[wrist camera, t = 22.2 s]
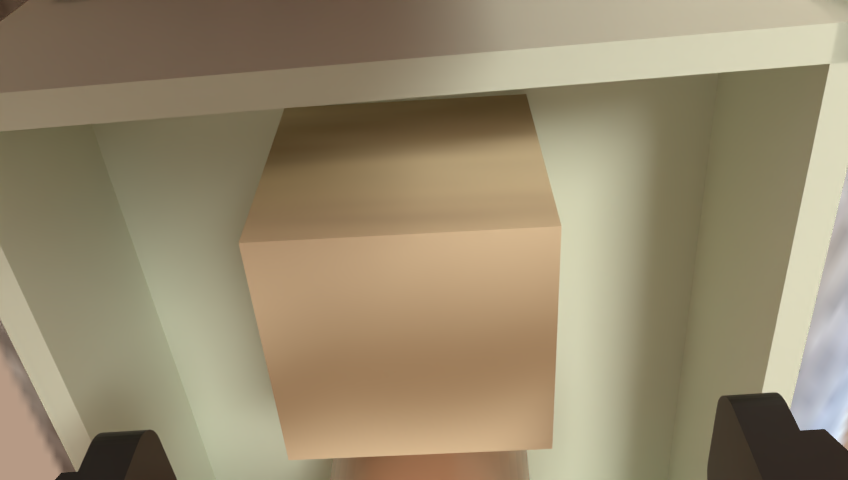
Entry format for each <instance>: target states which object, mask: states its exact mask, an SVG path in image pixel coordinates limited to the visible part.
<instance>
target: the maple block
mask: <svg viewBox="0 0 848 480" xmlns="http://www.w3.org/2000/svg"><path fill="white" fill-rule="evenodd" d="M561 228H562V226H561V222H560V218H559V215H558V211H557V207H556V204H555V200H554V196H553V192H552V189H551V185H550V181H549V177H548V174H547V170H546V166H545V162H544V159H543V155H542V151H541V147H540V144H539V140H538V136H537V133H536V129H535V125H534V121H533V118H532V114H531V110H530V106H529V103H528V99H527V95H526V94H517V95H500V96H483V97H465V98H448V99H431V100H413V101H396V102H379V103H361V104H344V105H327V106H309V107H294V108H284V111H283V114H282V117H281V120H280V123H279V126H278V129H277V132H276V135H275V137H274V140H273V143H272V146H271V149H270V152H269V155H268V158H267V161H266V164H265V167H264V170H263V173H262V176H261V179H260V181H259V184H258V187H257V190H256V193H255V196H254V199H253V202H252V205H251V208H250V211H249V214H248V217H247V220H246V222H245V225H244V228H243V231H242V234H241V237H240V240H239V248H240V252H241V256H242V261H243V265H244V269H245V274H246V278H247V282H248V287H249V291H250V295H251V300H252V304H253V308H254V313H255V317H256V321H257V326H258V330H259V334H260V339H261V343H262V347H263V352H264V356H265V360H266V365H267V369H268V373H269V378H270V382H271V386H272V390H273V395H274V399H275V403H276V408H277V412H278V416H279V421H280V425H281V429H282V434H283V438H284V442H285V447H286V451H287V455H288V460H306V459H329V458H352V457H376V456H399V455H422V454H445V453H468V452H491V451H514V450H537V449H552V444H553V420H554V396H555V372H556V348H557V324H558V300H559V276H560V252H561Z"/></svg>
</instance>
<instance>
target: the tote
mask: <svg viewBox="0 0 848 480" xmlns="http://www.w3.org/2000/svg"><path fill="white" fill-rule="evenodd" d="M517 94H526V95H527V99H528V103H529V106H530V110H531V114H532V118H533V121H534V125H535V129H536V133H537V136H538V140H539V144H540V147H541V151H542V155H543V159H544V162H545V166H546V170H547V174H548V177H549V181H550V185H551V189H552V192H553V196H554V200H555V204H556V207H557V211H558V215H559V218H560V222H561V226H562V228H561V252H560V276H559V300H558V324H557V348H556V372H555V396H554V420H553V444H552V449H537V450H527V456H528V466H529V476H530V480H707V465H708V458H709V452H710V446H711V440H712V434H713V428H714V421H715V415H716V409H717V404H718V400H719V398H720V397H721V396H723V395H739V394H755V393H771V392H777V393H779V394H780V395H781V396H782V397H783V398H784V400H785V401H786V403H787V405H788V407H789V409H790V407H791V403H792V398H793V394H794V390H795V386H796V382H797V377H798V373H799V369H800V365H801V361H802V356H803V352H804V348H805V344H806V340H807V335H808V331H809V327H810V323H811V319H812V314H813V310H814V306H815V302H816V298H817V293H818V289H819V285H820V281H821V277H822V272H823V268H824V264H825V260H826V256H827V251H828V247H829V243H830V239H831V235H832V230H833V226H834V222H835V218H836V214H837V209H838V205H839V201H840V197H841V193H842V188H843V184H844V180H845V176H846V172H847V167H848V0H28V1H27V2H26V3H24V4H23V5H22V6H20V7H19V8H18V9H16V10H15V11H14V12H12V13H11V14H10V15H8V16H7V17H6V18H4V19H3V20H2V21H0V319H1V321H2V323H3V325H4V327H5V329H6V331H7V334H8V336H9V338H10V340H11V342H12V344H13V346H14V348H15V350H16V352H17V354H18V356H19V358H20V360H21V362H22V364H23V366H24V368H25V370H26V372H27V374H28V376H29V378H30V380H31V382H32V384H33V386H34V388H35V390H36V392H37V394H38V396H39V398H40V400H41V402H42V404H43V406H44V408H45V410H46V412H47V414H48V416H49V418H50V420H51V422H52V424H53V426H54V428H55V430H56V432H57V434H58V436H59V438H60V441H61V443H62V445H63V447H64V449H65V451H66V453H67V455H68V457H69V459H70V461H71V463H72V465H73V467H74V469H75V471H76V472H78V470H79V468H80V466H81V463H82V461H83V459H84V457H85V454H86V452H87V450H88V448H89V445H90V443H91V442H92V440H93V439H94V437H95V436H96V435H97V434H99V433H103V432H119V431H135V430H153V431H155V432H156V434H157V435H158V437H159V439H160V441H161V443H162V446H163V448H164V450H165V453H166V455H167V457H168V460H169V462H170V464H171V467H172V469H173V471H174V473H175V476H176V478H177V480H330V477H331V470H332V463H333V458H329V459H306V460H288V455H287V451H286V447H285V442H284V438H283V434H282V429H281V425H280V421H279V416H278V412H277V408H276V403H275V399H274V395H273V390H272V386H271V382H270V378H269V373H268V369H267V365H266V360H265V356H264V352H263V347H262V343H261V339H260V334H259V330H258V326H257V321H256V317H255V313H254V308H253V304H252V300H251V295H250V291H249V287H248V282H247V278H246V274H245V269H244V265H243V261H242V256H241V252H240V248H239V240H240V237H241V234H242V231H243V228H244V225H245V222H246V220H247V217H248V214H249V211H250V208H251V205H252V202H253V199H254V196H255V193H256V190H257V187H258V184H259V181H260V179H261V176H262V173H263V170H264V167H265V164H266V161H267V158H268V155H269V152H270V149H271V146H272V143H273V140H274V137H275V135H276V132H277V129H278V126H279V123H280V120H281V117H282V114H283V111H284V108H294V107H309V106H327V105H344V104H361V103H379V102H396V101H413V100H431V99H448V98H465V97H483V96H500V95H517Z"/></svg>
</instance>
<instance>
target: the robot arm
mask: <svg viewBox="0 0 848 480" xmlns="http://www.w3.org/2000/svg"><path fill="white" fill-rule="evenodd" d="M55 480H177V478H176V476H175V473H174V471H173V469H172V467H171V464H170V462H169V460H168V457H167V455H166V453H165V450H164V448H163V446H162V443H161V441H160V439H159V437H158V435H157V434H156V432H155V431H153V430H135V431H119V432H103V433H99V434H97V435H96V436H95V437H94V439H93V440H92V442H91V443H90V445H89V448H88V450H87V452H86V454H85V457H84V459H83V461H82V463H81V466H80V468H79V470H78V472H67V473H61V474H60V475H59V476H58V477H57V478H56V479H55ZM707 480H848V450H847V449H846V448H844V447H843V446H842V445H841V444H840V443H839V442H838V441H837V440H836V439H835V438H834V437H832V436H831V435H830V434H829V433H828V432H827V431H826V430H825V429H821V430H804V431H800V429H799V427H798V425H797V423H796V421H795V419H794V417H793V415H792V413H791V411H790V409H789V407H788V405H787V403H786V401H785V400H784V398H783V397H782V396H781V395H780V394H779V393H777V392H771V393H755V394H739V395H723V396H721V397H720V398H719V400H718V404H717V409H716V415H715V421H714V428H713V434H712V440H711V446H710V452H709V458H708V465H707Z"/></svg>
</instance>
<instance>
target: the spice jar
mask: <svg viewBox="0 0 848 480" xmlns="http://www.w3.org/2000/svg"><path fill="white" fill-rule="evenodd" d="M330 480H530V476H529V466H528V456H527V450H514V451H491V452H468V453H445V454H422V455H399V456H376V457H352V458H333V463H332V470H331V477H330Z"/></svg>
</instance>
